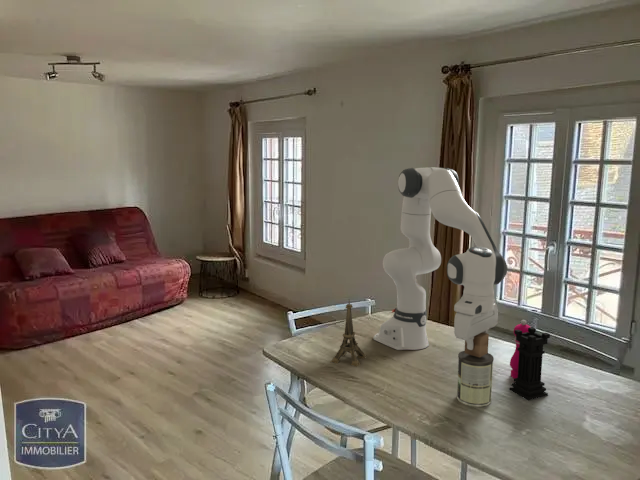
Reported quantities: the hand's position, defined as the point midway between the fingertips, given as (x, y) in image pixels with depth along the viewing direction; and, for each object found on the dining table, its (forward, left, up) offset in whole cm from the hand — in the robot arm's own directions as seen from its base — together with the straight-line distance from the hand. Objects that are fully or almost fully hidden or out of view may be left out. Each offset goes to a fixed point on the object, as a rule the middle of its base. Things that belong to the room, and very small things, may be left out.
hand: (476, 346), depth 158 cm
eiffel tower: (-49, -3, -17) cm, 52 cm away
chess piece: (+10, +16, -17) cm, 26 cm away
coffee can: (0, 0, -17) cm, 17 cm away
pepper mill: (+3, +26, -17) cm, 31 cm away
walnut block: (0, 0, -2) cm, 2 cm away
